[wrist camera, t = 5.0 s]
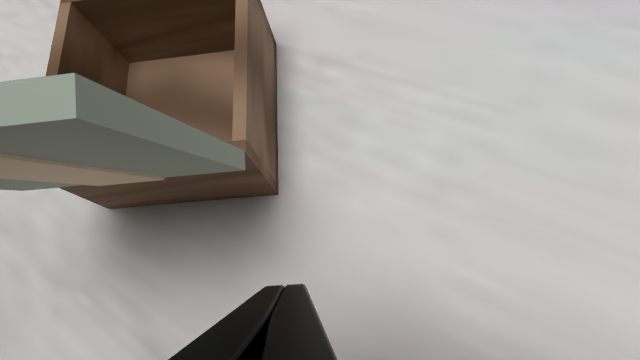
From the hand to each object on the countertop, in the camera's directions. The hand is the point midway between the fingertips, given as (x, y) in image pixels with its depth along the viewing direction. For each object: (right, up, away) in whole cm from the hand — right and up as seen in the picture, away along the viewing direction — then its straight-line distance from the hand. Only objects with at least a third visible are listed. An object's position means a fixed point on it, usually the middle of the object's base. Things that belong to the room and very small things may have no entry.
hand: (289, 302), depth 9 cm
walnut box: (-7, +6, +17) cm, 19 cm away
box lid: (-8, +4, +4) cm, 10 cm away
